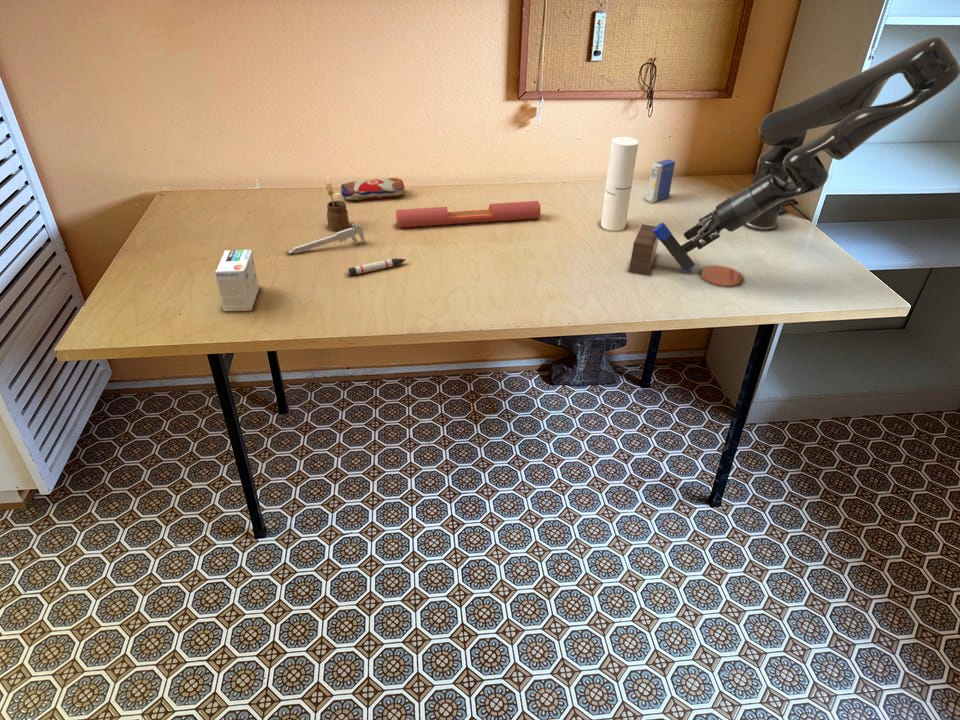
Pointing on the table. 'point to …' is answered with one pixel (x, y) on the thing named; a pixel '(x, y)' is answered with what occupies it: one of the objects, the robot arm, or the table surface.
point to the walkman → (660, 180)
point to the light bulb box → (237, 280)
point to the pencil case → (372, 188)
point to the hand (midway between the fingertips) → (683, 243)
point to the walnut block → (644, 250)
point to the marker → (375, 266)
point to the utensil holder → (336, 213)
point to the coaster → (721, 276)
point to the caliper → (332, 239)
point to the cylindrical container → (619, 182)
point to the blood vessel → (467, 214)
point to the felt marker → (673, 247)
